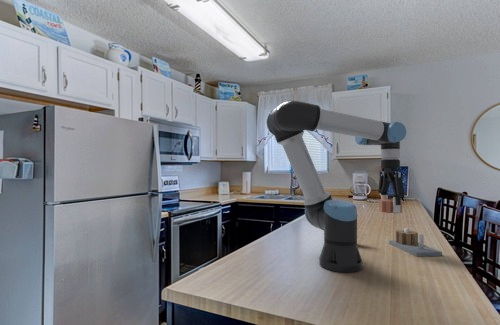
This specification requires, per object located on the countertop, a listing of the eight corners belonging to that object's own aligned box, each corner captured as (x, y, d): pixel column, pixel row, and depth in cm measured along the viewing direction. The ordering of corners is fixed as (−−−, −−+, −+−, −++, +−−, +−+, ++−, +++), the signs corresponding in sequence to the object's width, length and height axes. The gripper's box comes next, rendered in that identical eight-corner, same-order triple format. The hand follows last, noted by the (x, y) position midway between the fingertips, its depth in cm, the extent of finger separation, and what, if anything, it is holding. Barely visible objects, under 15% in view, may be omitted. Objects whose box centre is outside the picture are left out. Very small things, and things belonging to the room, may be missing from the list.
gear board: (442, 255, 121) (441, 235, 121) (416, 256, 120) (416, 236, 120) (411, 243, 141) (411, 226, 141) (389, 243, 140) (388, 226, 140)
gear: (406, 213, 125) (406, 201, 125) (386, 213, 124) (386, 201, 124) (394, 210, 133) (394, 199, 134) (375, 210, 133) (375, 199, 133)
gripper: (414, 158, 119) (414, 215, 118) (385, 159, 140) (385, 207, 140) (396, 158, 118) (396, 215, 118) (370, 159, 139) (370, 207, 139)
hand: (390, 211), depth 129 cm, fingers closed on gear, 9 cm apart
